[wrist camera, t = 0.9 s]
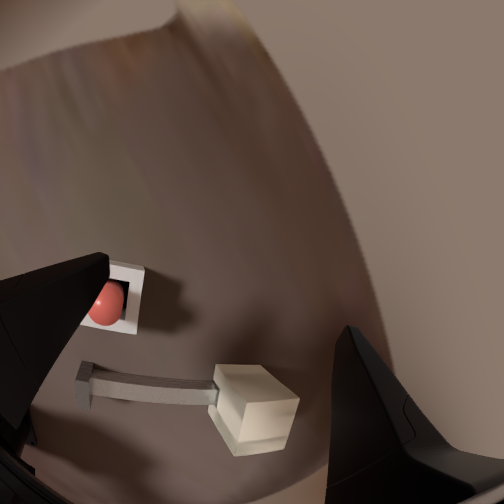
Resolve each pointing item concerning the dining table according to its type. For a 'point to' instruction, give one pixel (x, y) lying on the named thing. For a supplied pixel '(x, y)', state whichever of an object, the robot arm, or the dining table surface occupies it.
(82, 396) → the rail
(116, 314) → the plunger
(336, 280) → the dining table surface
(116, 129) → the dining table surface
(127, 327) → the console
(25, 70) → the dining table surface
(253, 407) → the carriage
